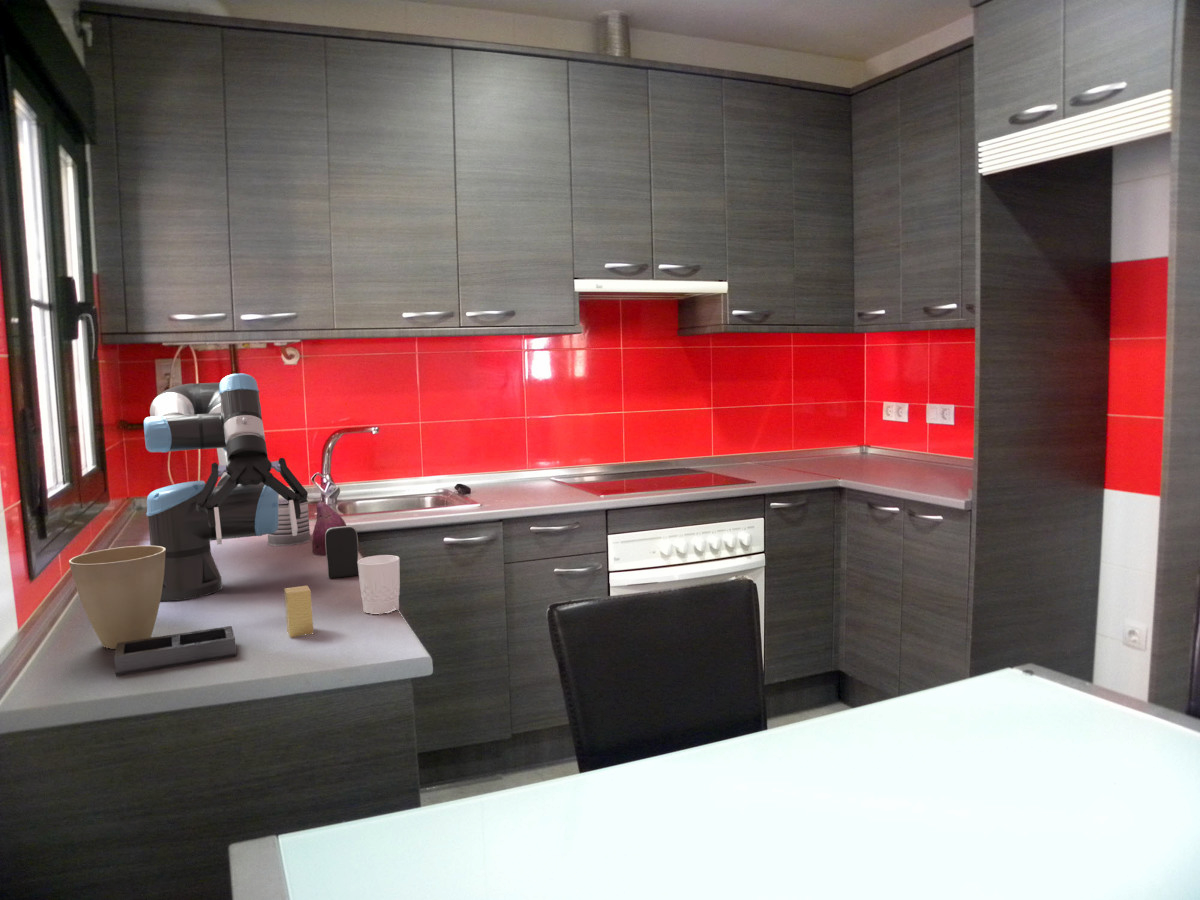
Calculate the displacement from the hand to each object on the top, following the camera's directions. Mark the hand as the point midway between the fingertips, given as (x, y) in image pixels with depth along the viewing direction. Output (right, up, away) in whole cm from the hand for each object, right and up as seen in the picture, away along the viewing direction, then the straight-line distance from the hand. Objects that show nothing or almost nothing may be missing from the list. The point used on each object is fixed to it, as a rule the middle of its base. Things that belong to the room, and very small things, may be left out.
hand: (258, 537), depth 171 cm
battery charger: (+7, -12, +31) cm, 35 cm away
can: (-20, -9, +74) cm, 77 cm away
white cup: (+23, -15, +2) cm, 27 cm away
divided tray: (-5, -18, -23) cm, 29 cm away
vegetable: (-3, -10, +59) cm, 60 cm away
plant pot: (-18, -18, -13) cm, 29 cm away
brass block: (+12, -16, -11) cm, 23 cm away
